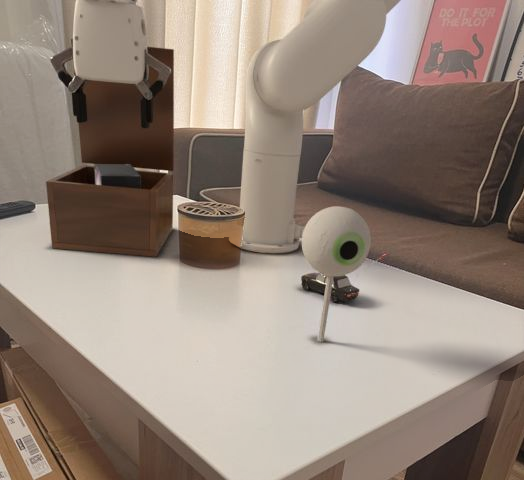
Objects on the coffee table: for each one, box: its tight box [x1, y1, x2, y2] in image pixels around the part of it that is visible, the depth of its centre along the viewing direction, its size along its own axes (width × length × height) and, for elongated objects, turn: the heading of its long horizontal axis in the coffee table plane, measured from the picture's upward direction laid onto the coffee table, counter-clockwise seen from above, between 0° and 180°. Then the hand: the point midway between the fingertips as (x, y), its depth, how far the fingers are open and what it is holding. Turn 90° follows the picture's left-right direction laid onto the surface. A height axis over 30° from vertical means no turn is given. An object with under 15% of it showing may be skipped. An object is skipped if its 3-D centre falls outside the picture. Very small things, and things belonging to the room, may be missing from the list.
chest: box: [45, 164, 174, 258], centre depth 87 cm, size 18×16×10 cm
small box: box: [93, 164, 141, 189], centre depth 86 cm, size 11×6×10 cm, turn 21°
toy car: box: [300, 253, 387, 303], centre depth 71 cm, size 4×12×8 cm, turn 44°
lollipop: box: [301, 205, 372, 343], centre depth 56 cm, size 7×7×15 cm
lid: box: [70, 38, 175, 172], centre depth 90 cm, size 19×16×5 cm
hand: (113, 124), depth 80 cm, fingers open, 9 cm apart
